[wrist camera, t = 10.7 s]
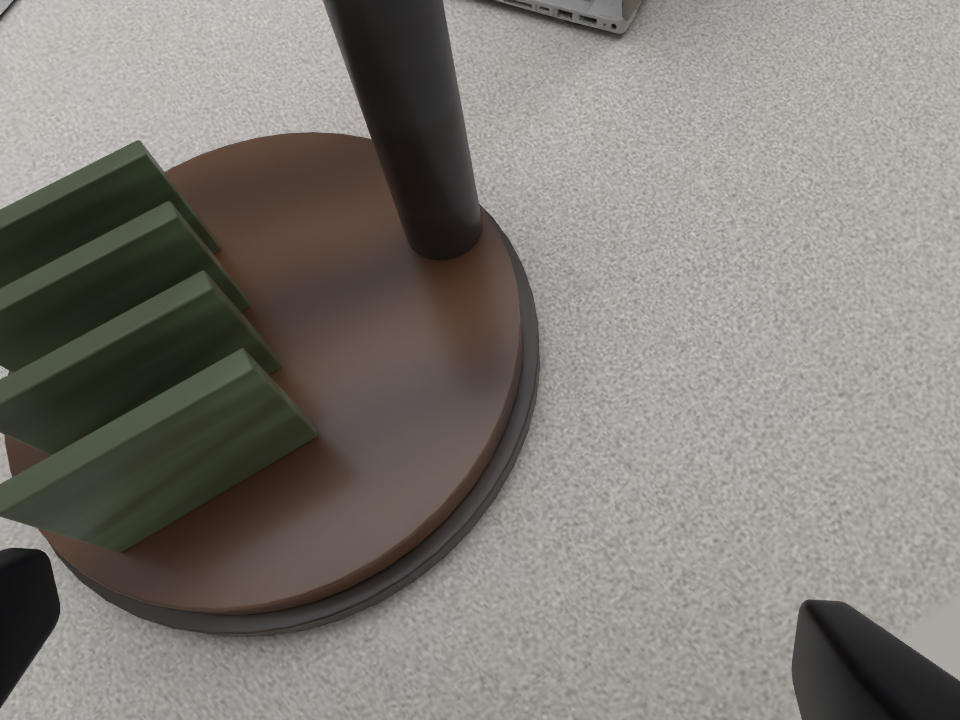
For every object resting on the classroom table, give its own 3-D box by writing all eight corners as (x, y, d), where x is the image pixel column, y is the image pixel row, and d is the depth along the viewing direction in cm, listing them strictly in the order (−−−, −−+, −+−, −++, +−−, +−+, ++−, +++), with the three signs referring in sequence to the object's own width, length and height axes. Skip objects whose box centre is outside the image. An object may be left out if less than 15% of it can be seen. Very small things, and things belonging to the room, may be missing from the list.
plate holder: (630, 414, 21) (711, 73, 9) (112, 741, 19) (-640, 831, 7) (377, 88, 28) (245, -334, 16) (-19, 295, 26) (-498, -27, 14)
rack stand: (527, 659, 19) (525, 658, 18) (-44, 615, 22) (-71, 612, 21) (548, 158, 27) (547, 140, 26) (123, 166, 29) (109, 150, 28)
